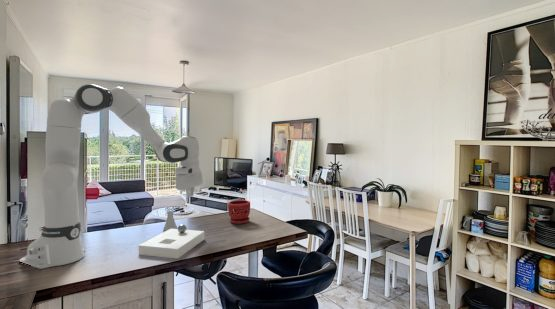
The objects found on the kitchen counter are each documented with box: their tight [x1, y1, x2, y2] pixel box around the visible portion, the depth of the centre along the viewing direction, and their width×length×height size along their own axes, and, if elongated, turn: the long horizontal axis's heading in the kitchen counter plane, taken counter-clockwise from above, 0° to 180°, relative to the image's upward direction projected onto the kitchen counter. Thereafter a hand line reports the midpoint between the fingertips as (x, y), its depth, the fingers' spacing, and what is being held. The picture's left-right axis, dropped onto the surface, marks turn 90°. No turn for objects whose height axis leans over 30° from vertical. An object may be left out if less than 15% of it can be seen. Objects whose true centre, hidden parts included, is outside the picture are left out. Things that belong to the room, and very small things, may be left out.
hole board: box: [138, 229, 205, 259], centre depth 133 cm, size 18×24×4 cm
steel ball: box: [177, 224, 187, 233], centre depth 140 cm, size 4×4×4 cm
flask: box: [162, 210, 178, 232], centre depth 157 cm, size 7×7×10 cm
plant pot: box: [227, 199, 251, 225], centre depth 174 cm, size 13×13×12 cm
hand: (190, 196), depth 147 cm, fingers closed
